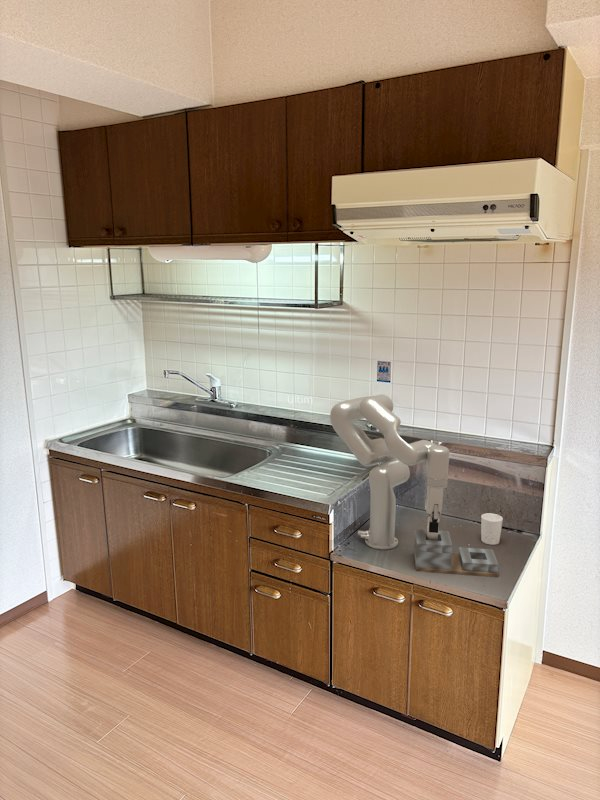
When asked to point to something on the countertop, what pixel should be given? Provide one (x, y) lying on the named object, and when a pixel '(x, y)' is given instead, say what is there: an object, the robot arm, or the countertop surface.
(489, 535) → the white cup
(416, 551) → the socket board
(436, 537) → the peg
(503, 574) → the countertop surface
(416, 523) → the countertop surface
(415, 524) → the countertop surface
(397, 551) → the countertop surface
